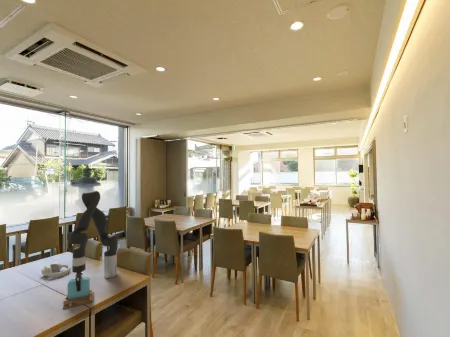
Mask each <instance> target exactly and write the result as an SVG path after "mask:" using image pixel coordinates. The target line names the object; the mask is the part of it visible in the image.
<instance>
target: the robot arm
mask: <svg viewBox="0 0 450 337" xmlns="http://www.w3.org/2000/svg"><path fill="white" fill-rule="evenodd" d="M81 200H82V203H83V205H84V207H85V208H86V210H84V212H83V213H82V214H81V215H80V217H79V218H78V221H77V224H76V227H75V228H74V229H73V231H72V233H71V235H70V236H69V239H68V240H69V243H70V244H71V245H80V246H78V247H75V248H73V249H72V260H71V265H72V266H71V270H72V273H74V274H75V275H74V276H75V278H74V279H76V281H75V282H76V286H77V292H78V291H80V290H81V281H82V278H83V273H84V271H86V267H87V266H86V248H87V247H86V246H87V243H88V241H89V235H88V234H87V233H86V231H87V230H89V227H90V223H91V221H92V222H93V223H94V224H93V225H94V226H95V228H96V230H97V232H98V236H99V240H100V242H101V245H102V246H104V247H108V249H107V250H105V251H104V253H103V278H106V279H112V278H115V277H117V276H118V273H117V272H118V270H117V268H118V264H117V261H118V260H117V257H118V256H117V254H118V253H117V252H118V248H119V246H118V244H119V243H118V242H119V239H118V236H117V235H116V234H109V233H108V231H107V226H108V222H109V221H108V218H107V215H106V213H105V212H103V211H102V210H100V208H98V205H99V204H100V200H101V193H100V192H99V191H98V190H92V191H85V192H82V194H81ZM80 279H81V280H80ZM77 283H79V284H77Z"/></svg>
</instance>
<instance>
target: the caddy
mask: <svg viewBox="0 0 450 337" xmlns="http://www.w3.org/2000/svg"><path fill="white" fill-rule="evenodd" d="M93 299H94V289H90V293H89V296H84V297H79V298H74V299H70V300H68V294H65V295H64V299H63V306H62V310H64V309H70V308H75V307H78V306H83V305H89V304H92V303H93V301H94V300H93Z"/></svg>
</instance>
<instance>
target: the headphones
mask: <svg viewBox="0 0 450 337" xmlns="http://www.w3.org/2000/svg"><path fill="white" fill-rule="evenodd" d="M63 268H66V269H65V270H63V271H61V270H62V269H63ZM71 270H72V266H70V265H69V264H68V265H67V264H62V263H59V262H56V261H55V262H52V263H50V264H49V265H45V266H44V267H43V268H42V269H41V275H44V276H45V277H49V278H50V279H57V278H62V277H64V276H65V275H68V274H69V273H70V272H71Z"/></svg>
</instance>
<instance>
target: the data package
mask: <svg viewBox="0 0 450 337" xmlns="http://www.w3.org/2000/svg"><path fill="white" fill-rule="evenodd" d="M80 280H81V279H80ZM75 281H76V279H75V278H72V279H70V280H69V281H68V282H67V295H68V300H70V299H74V298H79V297H84V296H89V293H90V290H91V288H90V287H91V285H90V284H91V283H90V282H91V279H90V277H89V276H85V277H83V276H82V281H81V290H80V291H78V292H77V286H76V282H75ZM77 284H79V283H77Z"/></svg>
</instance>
